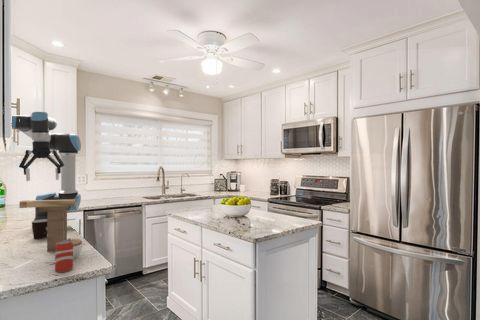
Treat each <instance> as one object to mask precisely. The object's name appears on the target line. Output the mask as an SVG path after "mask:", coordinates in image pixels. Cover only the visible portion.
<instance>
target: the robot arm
mask: <svg viewBox="0 0 480 320" xmlns="http://www.w3.org/2000/svg"><path fill="white" fill-rule="evenodd" d="M19 119H20V122H19ZM57 126H58V124H57V120H56V119H55V118H53V117H51V116H49V114H48V112H46V111H32V112H31V113H30V115H17V114H14V115H12V129H11V130H19V131H20V132H21V133H23V134H24V135H26V136H27V137H28V138H30V139H32V150H30V149H25V153H24V154H25V155H23V158H22V160H21V161H20V164H19V166H18V167H19V168H21V169H23V175H24V176H25V178H26V179H25V181H26V182H29V181H31V173H30V171H31V170H30V168H29V167H30V166H31V165H32V164H33V162H35V160H36V159H47V160H48V161H50V162H51V163H52V164H53V165H54V166H55V180H56V181H58V180H60V185H61V186H60V190H59V192H58V194H57V193H56V192H47V193H41V194H37V195H36V196H35V200H67V199H76V205H75V206H69V208H68V209H67V212H74V211H77V210H78V209H79V208H80V205H81V200H82V197H81V194H80V193H79V191H78V190H77V189H76V156H77V155H78V154H79V151H81V148H82V143H81V140H80V137H79V135H78V134H75V133H56V132H55V133H53V132H52V133H51V132H50V131H53V130H55V129H56V128H57ZM31 154H33V156H31V158H30V159H29V157H30V155H31ZM51 154H52V155H53V156H54V157H55V159H56V160H55V159H54V158H53V157H52V156H51ZM28 159H29V161H28ZM27 161H28V162H27ZM39 208H40V207H34V209H35V213H34V214H35V216H34V219H33V221H35V220H42V219H47V217H48V212H39ZM31 229H32V230H33V228H32V227H31Z"/></svg>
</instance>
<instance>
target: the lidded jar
mask: <svg viewBox="0 0 480 320" xmlns="http://www.w3.org/2000/svg"><path fill="white" fill-rule="evenodd" d="M67 240H71V241H72V244H73V260H74V259H76V258H77V257H78V256H79V255H80V254H81V252H82V247H83V240H82V239H80V238H68V237H67ZM63 241H64V240H63ZM56 245H57V243H56Z"/></svg>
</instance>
